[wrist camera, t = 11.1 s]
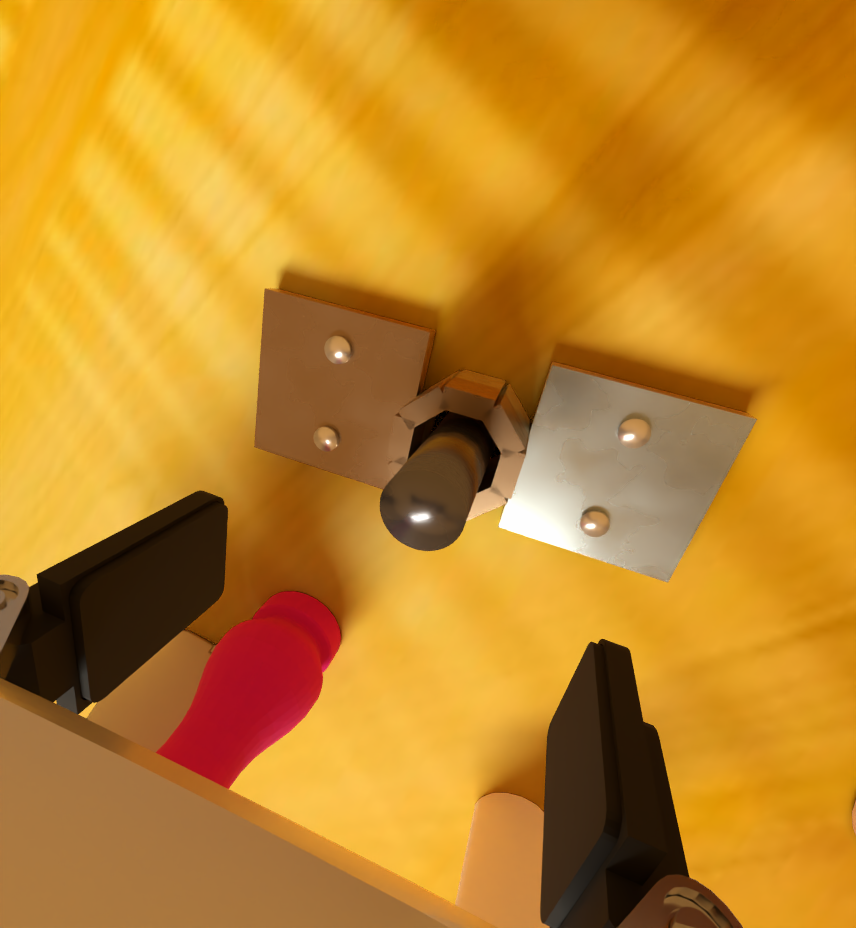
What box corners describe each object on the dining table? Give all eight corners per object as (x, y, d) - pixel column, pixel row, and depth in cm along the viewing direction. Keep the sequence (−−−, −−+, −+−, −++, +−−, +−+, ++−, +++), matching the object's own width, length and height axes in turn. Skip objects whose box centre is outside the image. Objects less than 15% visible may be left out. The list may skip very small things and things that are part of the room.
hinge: (746, 412, 21) (795, 442, 16) (662, 569, 24) (685, 627, 20) (277, 288, 24) (220, 287, 20) (266, 441, 28) (215, 467, 24)
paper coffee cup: (451, 810, 35) (416, 987, 26) (503, 775, 33) (484, 960, 24) (518, 861, 36) (506, 1055, 26) (576, 829, 33) (585, 1035, 24)
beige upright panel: (166, 642, 37) (-276, 1042, 17) (179, 612, 36) (-296, 1018, 16) (272, 715, 37) (-54, 1203, 17) (289, 687, 35) (-51, 1197, 15)
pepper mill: (262, 569, 32) (-126, 938, 14) (356, 606, 31) (70, 1058, 13) (254, 643, 35) (-74, 1028, 17) (340, 679, 34) (90, 1132, 15)
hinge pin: (506, 411, 23) (476, 486, 14) (490, 462, 25) (453, 562, 16) (451, 395, 24) (388, 458, 15) (438, 446, 25) (373, 534, 16)
